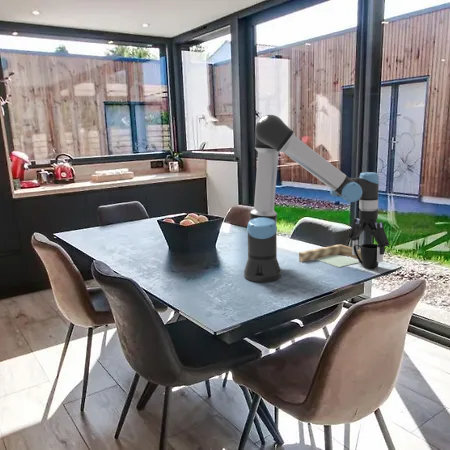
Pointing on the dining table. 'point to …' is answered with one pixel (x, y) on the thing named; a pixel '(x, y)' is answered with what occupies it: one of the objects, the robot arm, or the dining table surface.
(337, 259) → the mat
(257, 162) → the robot arm
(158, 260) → the dining table surface
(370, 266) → the mug
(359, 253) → the tan bent bar
